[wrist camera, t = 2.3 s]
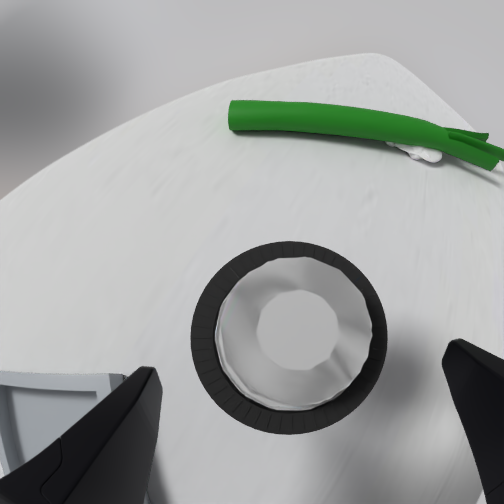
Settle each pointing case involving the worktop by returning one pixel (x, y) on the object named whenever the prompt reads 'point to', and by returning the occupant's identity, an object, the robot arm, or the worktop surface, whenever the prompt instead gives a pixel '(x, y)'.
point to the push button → (289, 337)
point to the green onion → (366, 129)
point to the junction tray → (45, 410)
